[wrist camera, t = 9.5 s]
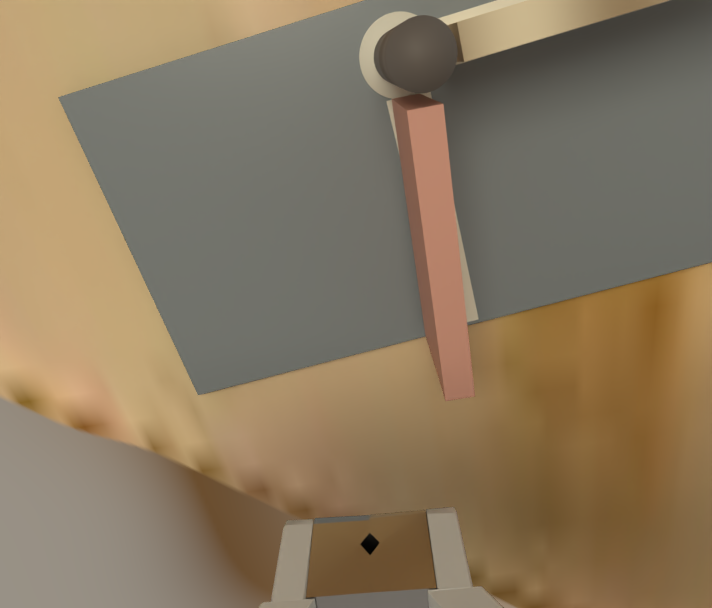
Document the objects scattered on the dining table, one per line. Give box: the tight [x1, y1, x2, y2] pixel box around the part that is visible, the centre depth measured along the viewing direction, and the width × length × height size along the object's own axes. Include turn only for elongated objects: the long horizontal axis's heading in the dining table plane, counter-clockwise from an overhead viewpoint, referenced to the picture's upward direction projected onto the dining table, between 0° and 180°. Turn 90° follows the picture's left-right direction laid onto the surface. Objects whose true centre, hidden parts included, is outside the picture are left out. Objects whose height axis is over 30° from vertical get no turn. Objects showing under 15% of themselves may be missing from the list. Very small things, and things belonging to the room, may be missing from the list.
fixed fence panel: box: [374, 0, 668, 94], centre depth 16 cm, size 12×2×6 cm, turn 106°
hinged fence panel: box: [392, 94, 475, 401], centre depth 19 cm, size 10×1×5 cm, turn 10°
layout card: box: [58, 0, 712, 395], centre depth 21 cm, size 24×13×1 cm, turn 106°
